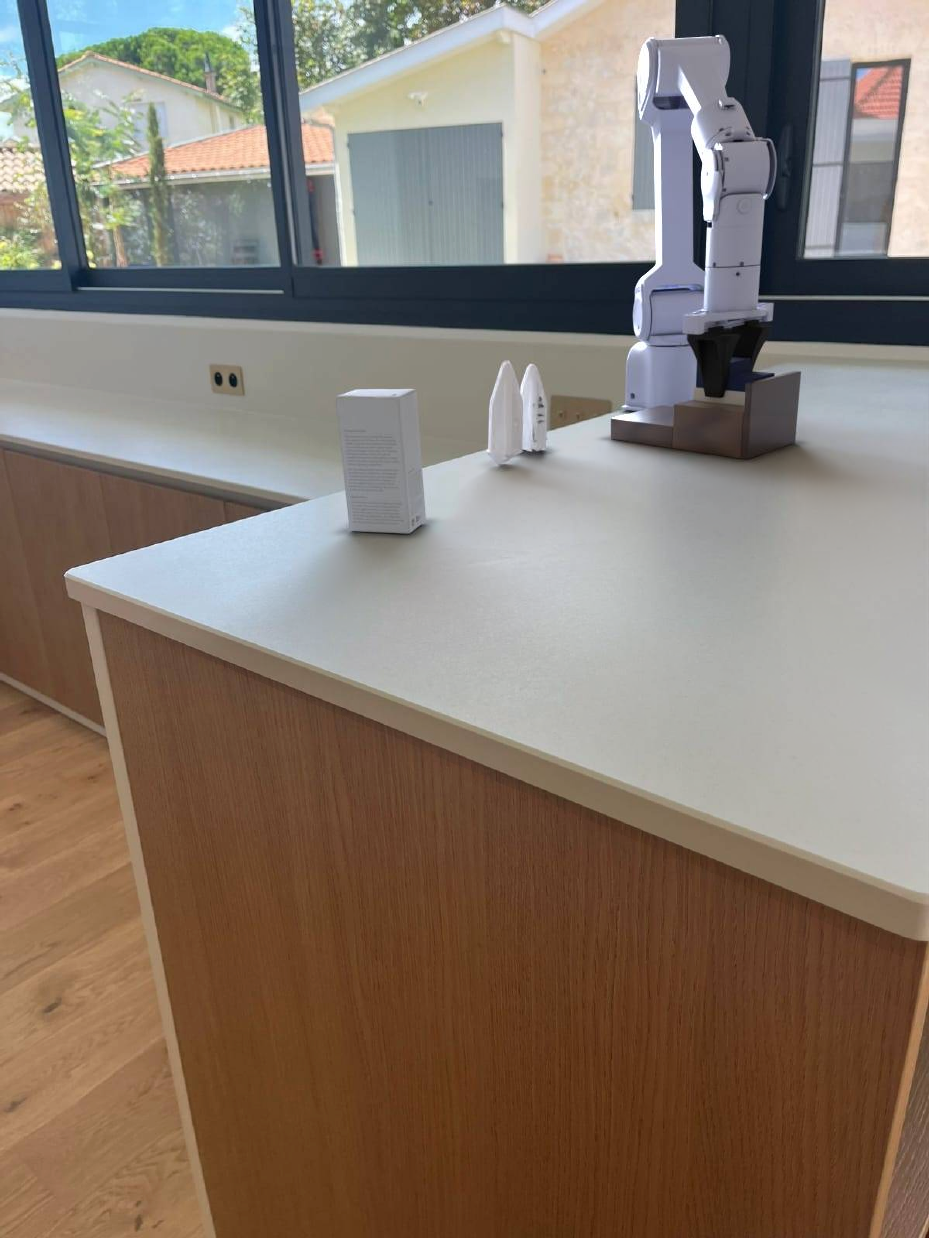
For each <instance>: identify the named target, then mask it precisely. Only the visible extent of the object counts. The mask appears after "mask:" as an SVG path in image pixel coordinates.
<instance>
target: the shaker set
mask: <svg viewBox="0 0 929 1238" xmlns="http://www.w3.org/2000/svg"><path fill="white" fill-rule="evenodd" d="M521 381H522V382H521V384H520V386H519V382H518V379H517V376H516V373H515V370H514V366H513V365H512V363H511V361H510V360H504V361H502V363H501V366H500V368H499V372H498V374H497V378H496V380H495V384H494V386H493V390H492V394H491V397H490V400H489V407H488V409H489V410H488V434H487V435H488V441H487V443H488V444H487V450H486V455H487V456H488V457H489V458H490V459H491V460H492V461H493V462H494V463H495V464H496V465H497V466H501V465H502V464H504V463H506V462H508V461H509V460H511V459H513V458H515V457H517V456H519V455H520V454H522V453H523V452H524V450H525V451H527V452H534V451H535V452H540V451H547V440H548V438H547V433H548V400H547V397H546V393H545V388H544V385H543V382H542V378H541V375H540V372H539V370H538V368H537V366H536V364H535V363H529V364H528V365H527V367H526V369H525V372H524V376H523V378H522V380H521Z"/></svg>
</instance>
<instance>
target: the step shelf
mask: <svg viewBox="0 0 929 1238" xmlns="http://www.w3.org/2000/svg"><path fill="white" fill-rule="evenodd" d="M801 377H802V371H800V370H794V371H793V370H792V371H790V372H785V373H782V374H778V375H775V376H774V377H770V378H766V379H762V380H758V381H754V382H750V383H746V387H745V403H744V406H740V405H731V404H721V403H712V402H703V401H694V400H689V401H685V402H681V403H677V404H674V407H671V406H662V405H661V406H657V407H653V408H649V409H645V410H641V411H633V412H630V413H625V414H621V415H617V416H615V417H611V418H610V439H611V440H616V441H624V442H630V443H637V444H643V445H648V446H649V445H650V446H656V447H663V448H668V449H675V450H683V451H689V452H695V453H701V454H707V455H708V454H709V455H715V456H722V457H727V458H736V459H742V460H749V459H752V458H755V457H758V456H760V455H761V456H762V455H765V454H767V453H769V452H772V451H776V450H779V449H781V448H784V447H787V446H790V445H793V444H795V443H796V438H797V426H798V415H799V403H800V390H801Z"/></svg>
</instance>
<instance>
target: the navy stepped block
mask: <svg viewBox="0 0 929 1238" xmlns="http://www.w3.org/2000/svg"><path fill="white" fill-rule="evenodd" d="M750 363H751V358H739V357H732V358H731V362H730V366H729V372H728V380H727V386H726V391H725V394H724V397H722V398H714V397H705V393H704V389H703V384H702V379H701V374H700V370H699V366H698V363H697V371H696V387H694V391H693V400H694V401H703V402H712V403H721V404H731V405H740V406H744V403H745V387H746V383H750V382H754V381H758V380H762V379H766V378H770V377H774V376H776V373H774V372H768V371H767V372H765V371H754V370H753V371H750Z"/></svg>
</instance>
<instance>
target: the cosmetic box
mask: <svg viewBox="0 0 929 1238" xmlns="http://www.w3.org/2000/svg"><path fill="white" fill-rule="evenodd" d="M334 399H335V408H336V409H335V410H336V416H337V424H338V433H339V445H340V452H341V461H342V470H343V480H344V491H345V497H346V498H345V500H346V509H347V510H346V511H347V518H348V526H349V527H348V528H349V531H350V532H365V533H366V532H367V533H386V534H387V533H389V534H411V533H412V532H414V531H415V530H416V529H418V528H419V527H420V526H421V525H423V524H424V523H425V522H426V521H427V515H426V501H425V488H424V474H423V464H422V449H421V437H420V436H421V435H420V423H419V412H418V399H417V390H416V388H400V389H399V388H397V389H396V388H394V389H393V388H391V389H390V388H389V389H387V388H386V389H385V388H381V389H380V388H377V389H376V388H372V389H370V388H369V389H368V388H367V389H364V388H363V389H361V388H360V389H353V390H350V391H347V392H346V393H342V394H339V395H336V396H335V398H334Z"/></svg>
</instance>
